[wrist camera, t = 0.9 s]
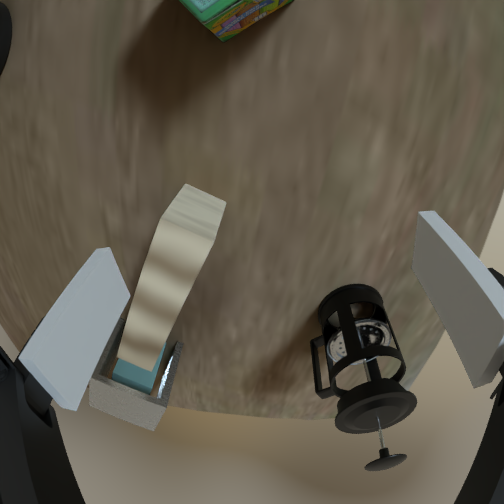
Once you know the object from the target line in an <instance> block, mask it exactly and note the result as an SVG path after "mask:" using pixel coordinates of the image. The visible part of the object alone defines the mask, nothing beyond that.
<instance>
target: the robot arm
mask: <svg viewBox="0 0 504 504" xmlns="http://www.w3.org/2000/svg"><path fill="white" fill-rule="evenodd" d="M11 34H12V23H11V16H10V13H9V11H8V9H7V7H6V6H5V5H4V4H2V3H0V74H1V72H2V69H3V67H4V64H5V62H6V59H7V55H8V52H9V47H10V42H11ZM411 268H412V270H413V272H414V273H415V275H416V277H417V278H418V280H419V282H420V283H421V285H422V287H423V289H424V290H425V292H426V294H427V296H428V297H429V299H430V301H431V303H432V304H433V306H434V308H435V310H436V312H437V314H438V315H439V317H440V319H441V321H442V323H443V325H444V327H445V329H446V330H447V332H448V334H449V336H450V338H451V340H452V342H453V344H454V346H455V348H456V351H457V353H458V355H459V357H460V359H461V361H462V363H463V365H464V367H465V370H466V372H467V374H468V376H469V379H470V381H471V383H472V385H473V388H477V387H480V386H482V385H485V384H487V383H490V382H492V381H493V379H494V377H495V376H496V374H497V372H498V371H500V373H501V375H502V377H503V378H502V380H501V382H500V383H499V384H498V386H497V387H496V389H495V390H494V392H493V393H492V395H491V397H490V399H493V397H494V396H495V395H496V398H495V402H494V405H493V409H492V413H491V415H490V418H489V422H488V425H487V428H486V431H485V433H484V436H483V439H482V442H481V444H480V447H479V450H478V452H477V455H476V457H475V460H474V462H473V464H472V467H471V469H470V472H469V474H468V476H467V478H466V480H465V483H464V484H463V487H462V489H461V491H460V493H459V495H458V497H457V499H456V501H455V502H454V504H504V276H503V275H502V274H500V273H499V272H497V271H496V270H494V269H493V268H486V267H485V266H484V264H483V263H482V262H481V261H480V260H479V258H478V257H477V256H476V255H475V254H474V253H473V252H472V250H471V249H470V248H469V247H468V246H467V245H466V244H465V243H464V242H463V240H462V239H461V238H460V237H459V236H458V235H457V234H456V233H455V232H454V231H453V230H452V229H451V228H450V227H449V226H448V225H447V224H446V223H445V222H444V220H443V219H442V218H441V217H440V216H439V215H438V214H437V213H436V212H435V211H423V212H418V219H417V229H416V237H415V246H414V253H413V260H412V267H411ZM129 298H130V293H129V291H128V289H127V287H126V285H125V282H124V280H123V278H122V275H121V273H120V271H119V268H118V266H117V264H116V261H115V259H114V256H113V254H112V251H111V249H110V247H107V248H100V249H96V250H95V251H94V253H93V254H92V255H91V256H90V258H89V259H88V260H87V261H86V263H85V264H84V265H83V266H82V268H81V269H80V270H79V271H78V273H77V274H76V275H75V277H74V278H73V279H72V280H71V282H70V283H69V284H68V286H67V287H66V288H65V290H64V291H63V292H62V294H61V295H60V297H59V298H58V299H57V301H56V302H55V303H54V305H53V306H52V308H51V309H50V311H49V312H48V313H47V315H46V316H45V317H44V318H42V320H41V321H40V323H39V324H38V326H37V327H36V330H34V332H33V333H32V335H31V337H30V338H29V339H28V341H27V342H26V344H25V345H24V347H23V349H22V350H21V352H20V353H19V355H18V357H17V358H16V360H15V362H14V363H13V362H12V360H11V359H10V358H9V357H8V355H7V354H6V353H5V351H4V350H3V349H2V348H1V346H0V504H85V501H84V499H83V497H82V494H81V492H80V489H79V487H78V484H77V481H76V479H75V476H74V474H73V471H72V468H71V465H70V462H69V459H68V456H67V453H66V449H65V446H64V443H63V440H62V436H61V433H60V429H59V425H58V421H57V417H56V413H55V410H54V408H53V407H52V406H51V405H50V403H51V401H52V399H54V400H55V401H56V402H57V403H58V405H60V407H61V408H65V409H69V410H74V411H77V408H78V406H79V404H80V401H81V399H82V396H83V394H84V392H85V390H86V387H87V385H88V383H89V380H90V378H91V376H92V374H93V372H94V369H95V367H96V365H97V363H98V361H99V359H100V356H101V354H102V352H103V350H104V348H105V346H106V344H107V342H108V340H109V338H110V336H111V333H112V331H113V329H114V327H115V325H116V323H117V321H118V319H119V317H120V315H121V314H122V312H123V310H124V308H125V306H126V304H127V302H128V300H129ZM496 393H497V394H496Z"/></svg>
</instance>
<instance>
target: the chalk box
mask: <svg viewBox="0 0 504 504" xmlns="http://www.w3.org/2000/svg"><path fill="white" fill-rule="evenodd" d="M179 1H180V2H181V3H182V4H183V5H184V6H185V7H186V8H187V9H188V10H189V11H190V12H191V13H192V14H193V15H194V16H195V17H196V18H197V19H198V20H199V21H200V22H201V23H202V24H203V25H204V26H205V27H207V28H208V29H209V30H210V31H211V32H213V33H214V34H215V35H216V36H217V37H218V39H220V40H221V41H222V42H225V41H227V40H229V39H230V38H232V37H233V36H235V35H236V34H238V33H240V32H241V31H243V30H244V29H246V28H247V27H249V26H251V25H252V24H254V23H255V22H257V21H259V20H260V19H262V18H264V17H265V16H267V15H269V14H270V13H272V12H274V11H275V10H277V9H279V8H280V7H282V6H284V5H286V4H288V3H289V2H291V1H293V0H179Z"/></svg>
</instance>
